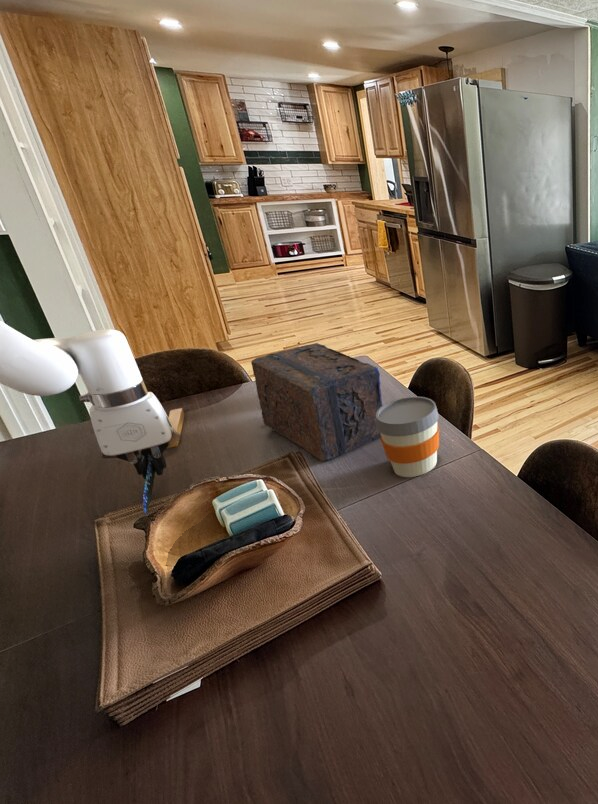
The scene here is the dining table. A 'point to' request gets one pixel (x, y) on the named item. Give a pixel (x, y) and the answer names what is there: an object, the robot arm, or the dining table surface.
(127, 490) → the dining table surface
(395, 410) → the reusable coffee cup
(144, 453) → the knife
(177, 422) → the tan wooden bar
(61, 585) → the dining table surface
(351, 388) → the decorative box
